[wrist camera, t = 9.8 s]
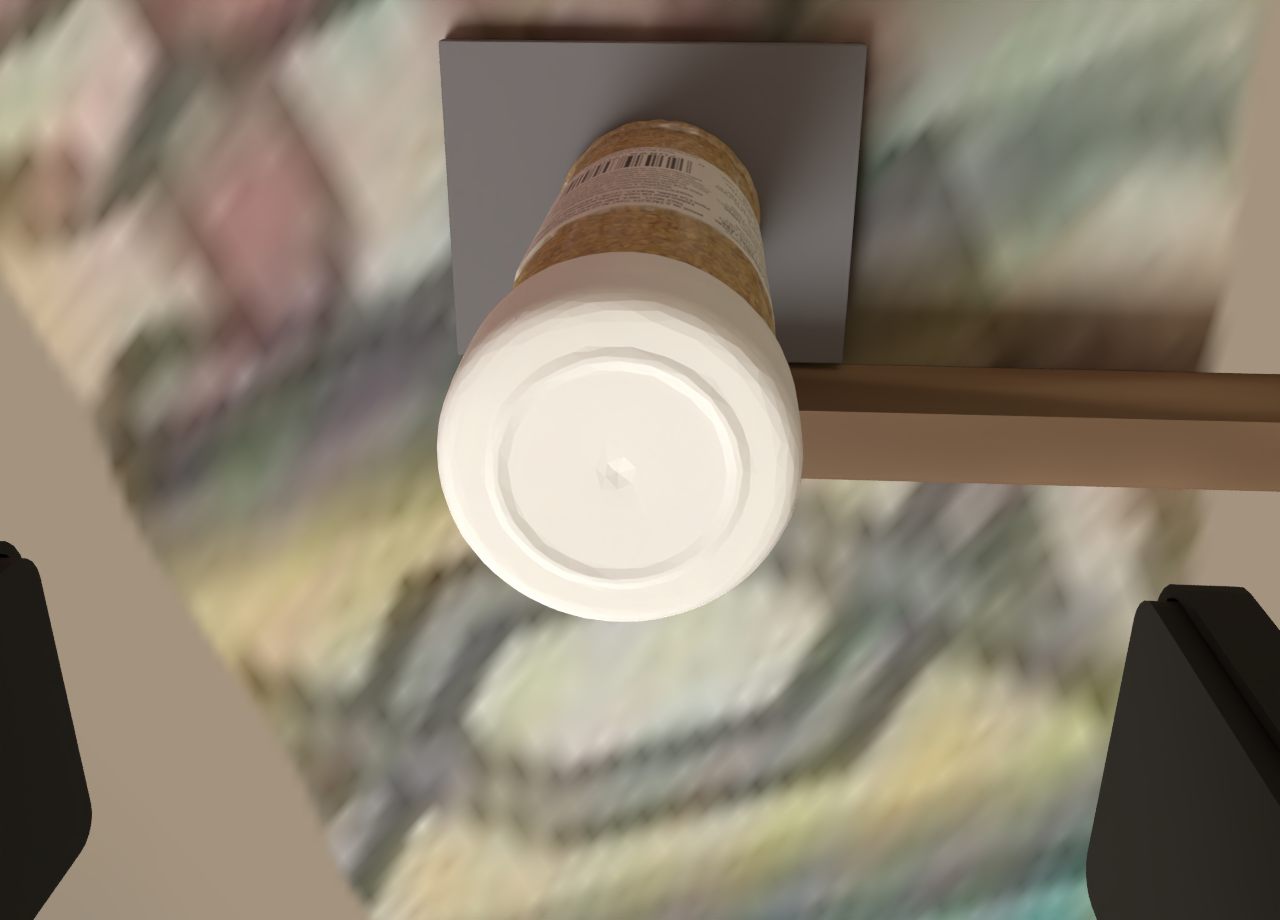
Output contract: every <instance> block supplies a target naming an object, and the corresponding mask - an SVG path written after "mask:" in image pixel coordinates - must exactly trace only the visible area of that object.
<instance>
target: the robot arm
mask: <svg viewBox="0 0 1280 920" xmlns="http://www.w3.org/2000/svg"><path fill="white" fill-rule="evenodd" d="M91 819H92V809H91V802H90V797H89V793H88V789H87V784H86V780H85V775H84V771H83V766H82V762H81V757H80V753H79V749H78V744H77V739H76V735H75V730H74V726H73V721H72V717H71V712H70V708H69V704H68V699H67V694H66V690H65V685H64V682H63V677H62V672H61V668H60V663H59V659H58V654H57V650H56V645H55V641H54V636H53V632H52V628H51V623H50V618H49V614H48V610H47V605H46V601H45V596H44V592H43V587H42V583H41V578H40V575H39V572H38V569H37V567H36V566H35V565H34V563H33V562H32V561H30V560H28V559H25V558H21V555H20V554H19V552H18V551H17V550H16V548H15V547H14V546H13V545H11V544H10V543H8V542H6V541H0V920H33V919H34V918H35V917H36V915H37V914H38V912H39V911H40V909H41V908H42V907H43V905H44V904H45V902H46V901H47V900H48V898H49V897H50V895H51V894H52V892H53V891H54V889H55V888H56V887H57V885H58V884H59V882H60V881H61V880H62V878H63V877H64V875H65V874H66V873H67V871H68V869H69V868H70V867H71V865H72V864H73V862H74V861H75V859H76V858H77V857H78V855H79V854H80V853H81V851H82V849H83V847H84V846H85V844H86V841H87V838H88V835H89V831H90V827H91ZM1086 878H1087V888H1088V894H1089V898H1090V901H1091V905H1092V908H1093V910H1094V913H1095V916H1096V918H1097V920H1280V630H1279V629H1278V628H1277V626H1276V625H1275V624H1274V623H1273V621H1272V620H1271V619H1270V618H1269V616H1268V615H1267V614H1266V612H1265V611H1264V610H1263V609H1262V607H1261V606H1260V605H1259V604H1258V602H1257V601H1256V600H1255V599H1254V597H1253V596H1252V595H1251V594H1250V593H1249V592H1248V591H1247V590H1246V589H1245V588H1243V587H1230V586H1202V585H1175V584H1169V585H1168V586H1167V587H1165V588H1164V589H1163V591H1162V593H1161V594H1160V596H1159V599H1158V601H1143V602H1142V603H1140V605H1139V607H1138V608H1137V610H1136V614H1135V617H1134V622H1133V627H1132V632H1131V637H1130V642H1129V647H1128V652H1127V657H1126V662H1125V667H1124V672H1123V677H1122V682H1121V687H1120V692H1119V697H1118V702H1117V707H1116V712H1115V717H1114V722H1113V727H1112V732H1111V737H1110V742H1109V747H1108V752H1107V758H1106V763H1105V768H1104V773H1103V778H1102V783H1101V788H1100V793H1099V798H1098V803H1097V808H1096V813H1095V818H1094V823H1093V828H1092V833H1091V838H1090V843H1089V848H1088V853H1087V861H1086Z"/></svg>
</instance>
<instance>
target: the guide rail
mask: <svg viewBox="0 0 1280 920" xmlns="http://www.w3.org/2000/svg"><path fill="white" fill-rule="evenodd" d="M788 365H789V368H790V371H791V375H792V378H793V381H794V385H795V390H796V396H797V402H798V408H799V415H800V422H801V432H802V442H803V464H802V474H801V478H807V479H843V480H879V481H915V482H951V483H987V484H1024V485H1060V486H1096V487H1132V488H1168V489H1204V490H1240V491H1241V490H1242V491H1276V492H1280V374H1240V373H1236V374H1235V373H1198V372H1154V371H1111V370H1068V369H1024V368H981V367H938V366H894V365H851V364H808V363H788Z"/></svg>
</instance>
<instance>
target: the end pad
mask: <svg viewBox="0 0 1280 920" xmlns="http://www.w3.org/2000/svg"><path fill="white" fill-rule="evenodd" d="M439 54H440V71H441V87H442V103H443V120H444V136H445V152H446V169H447V185H448V201H449V217H450V234H451V250H452V266H453V283H454V299H455V315H456V332H457V348H458V355H464V354H465V352H466V350H467V348H468V346H469V344H470V342H471V340H472V338H473V337H474V335H475V333H476V332H477V330H478V328H479V327H480V325H481V324H482V323H483V321H484V320H485V319H486V317H487V316H488V315H489V313H490V312H491V311H492V310H493V309H494V308H495V307H496V305H497V304H498V303H499V302H500V301H501V300H502V299H504V298H505V297H506V296H507V295H508V294H509V293H510V292H511V291H512V289H513V285H514V280H515V276H516V272H517V270H518V267H519V265H520V263H521V261H522V260H523V258H524V256H525V254H526V252H527V250H528V249H529V247H530V245H531V243H532V241H533V239H534V237H535V236H536V234H537V232H538V231H539V229H540V227H541V225H542V223H543V222H544V220H545V218H546V216H547V214H548V213H549V211H550V209H551V207H552V205H553V204H554V202H555V200H556V199H557V197H558V195H559V194H560V191H561V189H562V186H563V183H564V181H565V179H566V177H567V175H568V173H569V171H570V169H571V167H572V166H573V164H574V162H575V161H576V160H577V159H578V158H580V157H581V156H582V155H583V154H584V153H585V151H586V150H587V149H588V148H589V147H590V146H591V145H592V143H593V142H595V141H596V140H597V139H598V138H600V137H602V136H604V135H605V134H607V133H609V132H610V131H613V130H615V129H617V128H619V127H621V126H623V125H626V124H629V123H632V122H636V121H651V120H656V119H662V120H666V121H681V122H685V123H687V124H690V125H693V126H696V127H699V128H701V129H702V130H704V131H706V132H708V133H710V134H712V135H714V136H715V137H717V138H718V139H719V140H721V141H722V142H723V143H724V144H726V145H727V146H728V147H729V148H730V149H731V150H732V151H733V152H734V154H735V155H736V156H737V158H738V159H739V160H740V161H741V163H742V164H743V165H744V166H745V167H746V168H747V170H748V172H749V174H750V176H751V179H752V182H753V185H754V187H755V190H756V192H757V195H758V200H759V206H760V225H759V228H760V232H761V237H762V242H763V248H764V256H765V264H766V271H767V277H768V284H769V290H770V296H771V302H772V308H773V314H774V323H775V338H776V339H777V341H778V343H779V344H780V347H781V349H782V351H783V354H784V356H785V358H786V361H787V362H802V363H842V361H843V349H844V336H845V323H846V311H847V298H848V285H849V273H850V260H851V247H852V235H853V222H854V209H855V197H856V184H857V171H858V159H859V146H860V133H861V121H862V108H863V95H864V83H865V70H866V57H867V45H866V44H865V43H778V42H681V41H583V40H486V39H443V40H440V41H439Z"/></svg>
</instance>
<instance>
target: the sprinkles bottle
mask: <svg viewBox="0 0 1280 920" xmlns="http://www.w3.org/2000/svg"><path fill="white" fill-rule="evenodd" d="M759 225H760V206H759V200H758V195H757V192H756V190H755V187H754V185H753V182H752V179H751V176H750V174H749V172H748V170H747V168H746V167H745V166H744V165H743V164H742V163H741V161H740V160H739V159H738V158H737V156H736V155H735V154H734V152H733V151H732V150H731V149H730V148H729V147H728V146H727V145H726V144H724V143H723V142H722V141H721V140H719V139H718V138H717V137H715V136H714V135H712V134H710V133H708V132H706V131H704V130H702V129H701V128H699V127H696V126H693V125H690V124H687V123H685V122H681V121H666V120H662V119H656V120H651V121H636V122H632V123H629V124H626V125H623V126H621V127H619V128H617V129H615V130H613V131H610V132H609V133H607V134H605V135H604V136H602V137H600V138H598V139H597V140H596V141H595V142H593V143H592V145H591V146H590V147H589V148H588V149H587V150H586V151H585V153H584V154H583V155H582V156H581V157H580V158H578V159H577V160H576V161H575V162H574V164H573V166H572V167H571V169H570V171H569V173H568V175H567V177H566V179H565V181H564V183H563V186H562V189H561V191H560V194H559V195H558V197H557V199H556V200H555V202H554V204H553V205H552V207H551V209H550V211H549V213H548V214H547V216H546V218H545V220H544V222H543V223H542V225H541V227H540V229H539V231H538V232H537V234H536V236H535V237H534V239H533V241H532V243H531V245H530V247H529V249H528V250H527V252H526V254H525V256H524V258H523V260H522V261H521V263H520V265H519V267H518V270H517V272H516V276H515V280H514V285H513V289H512V291H511V292H510V293H509V294H508V295H507V296H506V297H505V298H504V299H502V300H501V301H500V302H499V303H498V304H497V305H496V307H495V308H494V309H493V310H492V311H491V312H490V313H489V315H488V316H487V317H486V319H485V320H484V321H483V323H482V324H481V325H480V327H479V328H478V330H477V332H476V333H475V335H474V337H473V338H472V340H471V342H470V344H469V346H468V348H467V350H466V352H465V354H464V356H463V358H462V360H461V362H460V364H459V366H458V368H457V370H456V373H455V375H454V377H453V379H452V382H451V385H450V387H449V390H448V393H447V395H446V398H445V401H444V404H443V408H442V411H441V415H440V420H439V426H438V440H437V456H438V470H439V475H440V481H441V486H442V489H443V492H444V495H445V498H446V501H447V504H448V507H449V510H450V512H451V515H452V517H453V519H454V521H455V523H456V525H457V527H458V529H459V531H460V533H461V535H462V536H463V537H464V539H465V540H466V542H467V543H468V544H469V545H470V546H471V548H472V549H473V550H474V552H475V553H476V554H477V555H478V556H479V558H480V559H481V560H482V561H483V562H484V563H485V564H486V565H487V566H488V567H489V568H490V569H491V570H492V571H493V572H494V573H495V574H496V575H498V576H499V577H500V578H501V579H502V580H504V581H505V582H506V583H508V584H509V585H511V586H512V587H513V588H515V589H516V590H518V591H519V592H521V593H523V594H524V595H526V596H528V597H529V598H531V599H533V600H535V601H537V602H539V603H541V604H544V605H546V606H548V607H551V608H553V609H556V610H558V611H561V612H565V613H568V614H572V615H575V616H579V617H583V618H589V619H597V620H604V621H612V622H628V621H646V620H653V619H660V618H664V617H669V616H673V615H676V614H680V613H683V612H686V611H690V610H692V609H695V608H697V607H700V606H703V605H705V604H707V603H708V602H710V601H712V600H714V599H716V598H718V597H719V596H721V595H723V594H725V593H726V592H728V591H729V590H731V589H732V588H734V587H735V586H736V585H738V584H739V583H740V582H742V581H743V580H745V579H746V578H747V577H748V576H749V575H750V574H751V573H752V572H753V571H754V570H755V569H756V568H757V567H758V566H759V565H760V564H761V563H762V562H763V561H764V559H765V558H766V557H767V556H768V555H769V553H770V552H771V551H772V549H773V548H774V546H775V544H776V543H777V541H778V540H779V538H780V537H781V535H782V533H783V532H784V530H785V528H786V526H787V525H788V522H789V520H790V518H791V516H792V513H793V510H794V507H795V503H796V500H797V496H798V492H799V488H800V483H801V474H802V464H803V442H802V432H801V422H800V415H799V408H798V402H797V396H796V390H795V385H794V381H793V378H792V375H791V371H790V368H789V365H788V363H787V361H786V358H785V356H784V354H783V351H782V349H781V347H780V344H779V343H778V341H777V339H776V338H775V323H774V314H773V308H772V302H771V296H770V290H769V284H768V277H767V271H766V264H765V256H764V248H763V242H762V237H761V232H760V228H759Z"/></svg>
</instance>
